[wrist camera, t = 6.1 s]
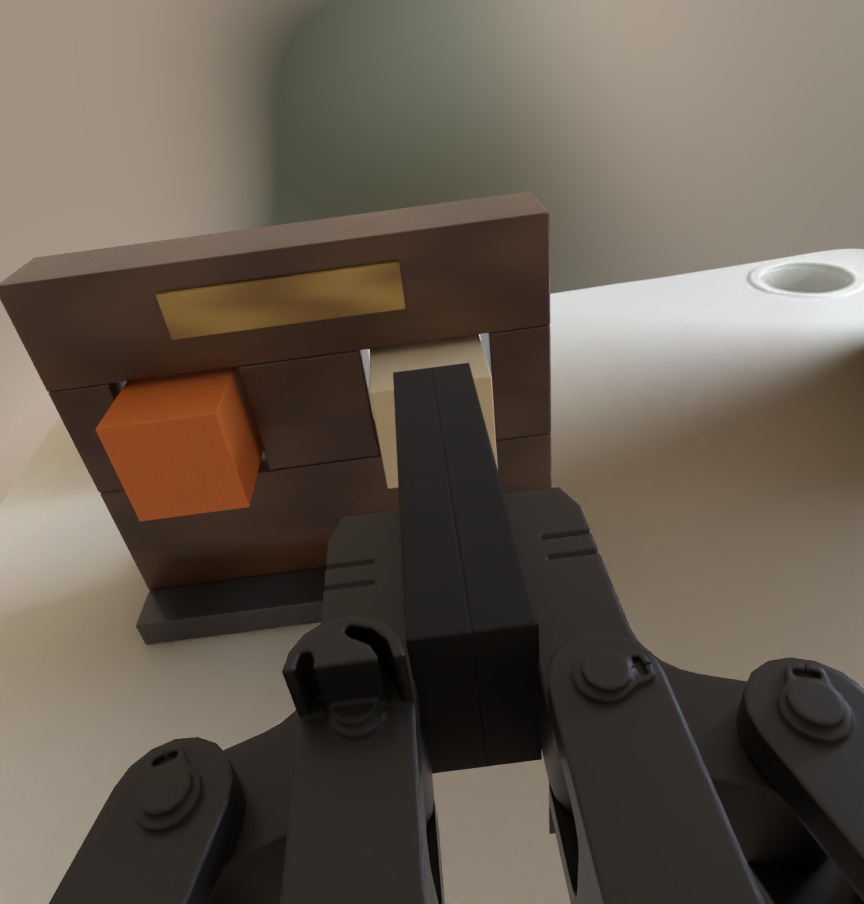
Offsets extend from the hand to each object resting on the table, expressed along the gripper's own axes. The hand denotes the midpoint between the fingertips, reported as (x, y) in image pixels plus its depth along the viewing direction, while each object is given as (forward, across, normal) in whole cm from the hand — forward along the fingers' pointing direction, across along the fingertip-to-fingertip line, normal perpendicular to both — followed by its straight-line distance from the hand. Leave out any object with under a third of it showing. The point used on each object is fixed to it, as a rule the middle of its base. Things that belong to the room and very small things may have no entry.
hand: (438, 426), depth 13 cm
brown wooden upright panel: (+12, -4, -14) cm, 19 cm away
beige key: (+9, 0, -7) cm, 12 cm away
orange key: (+9, -9, -7) cm, 15 cm away
